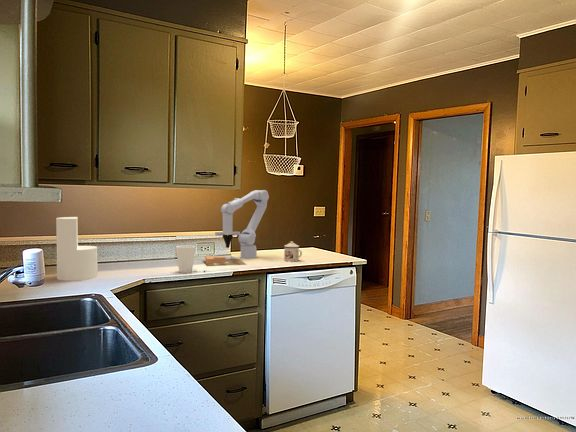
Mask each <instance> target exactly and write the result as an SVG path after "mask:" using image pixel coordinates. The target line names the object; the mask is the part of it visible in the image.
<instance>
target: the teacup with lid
mask: <svg viewBox="0 0 576 432" xmlns="http://www.w3.org/2000/svg"><path fill="white" fill-rule="evenodd" d="M283 247H284V255H283V256H284V258H283V259H284V262H288V261H296V262H299V261H300V260H299V259H300V258H301V257H302V255H303V251H302V250H301V249H300V245H298V244H296V243H294V241H289V242H288V243H287V244H285V245H283Z"/></svg>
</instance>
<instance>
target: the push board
mask: <svg viewBox="0 0 576 432" xmlns="http://www.w3.org/2000/svg"><path fill="white" fill-rule="evenodd" d="M201 262H202V263H203V264H204V265H205V266H206V267H221V266H222V267H223V266H245V265H246V266H247V263H245V262H243V261H242V260H241V259H239V258H235V259H226V263H214V264H208V265H207V263H206V261H205V260H201Z"/></svg>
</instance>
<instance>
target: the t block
mask: <svg viewBox="0 0 576 432" xmlns="http://www.w3.org/2000/svg"><path fill="white" fill-rule="evenodd" d="M226 260H227V258H226V256H212V255H205V257H204V261H206V263H207V265H208V264H214V263H226Z"/></svg>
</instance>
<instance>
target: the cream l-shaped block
mask: <svg viewBox="0 0 576 432" xmlns="http://www.w3.org/2000/svg"><path fill="white" fill-rule="evenodd" d="M78 219H79V218H78V216H62V217H61V216H60V217H56V219H55V220H56V221H55V223H56V225H55V227H56V229H55V230H56V238H55V239H56V279H57V280H59V281H63V282H64V281H66V282H67V281H69V282H70V281H71V282H72V281H74V282H75V281H85V280H92V279H96V278H97V277H98V274H99V273H98V271H99V270H98V246H96V245H79V232H78V231H79V229H78V226H79V225H78V224H79V223H78V221H79V220H78Z"/></svg>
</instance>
